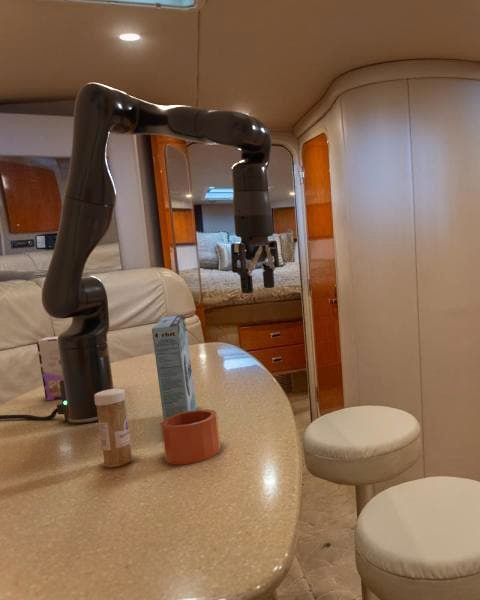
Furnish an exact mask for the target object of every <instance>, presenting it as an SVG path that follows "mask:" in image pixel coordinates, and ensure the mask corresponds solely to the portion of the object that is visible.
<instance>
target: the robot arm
mask: <svg viewBox="0 0 480 600" xmlns="http://www.w3.org/2000/svg"><path fill="white" fill-rule="evenodd" d="M110 134H113V135H116V136H133V135H134V136H137V135H141V136H142V135H152V136H153V135H155V136H165V137H168V138H169V137H170V138H174V139H178V140H182V141H187V142H193V143H199V144H204V145H219V146H224V147H229V148H233V149H238V150H240V151H241V152H240V158H239V162H236V163H234V164H233V165H232V167H231V180H232V210H233V220H234V221H233V223H234V235H235V237H237V238H240V242H231V243H230V257H231V272H232V273H233V274H237V275H238V276H239V279H240V289H241V293H242V294H253V292H254V283H253V274H252V273H253V270H254V268H255V266H257V265H260V267H261V269H262V279H263V280H262V281H263V288H265V289H273V288H275V274H274V272H275V271H276V268H278V267H280V260H279V259H280V258H279V249H278V242H277V240H269V237H273V235H274V227H273V226H274V225H273V224H274V223H273V213H272V212H273V211H272V201H271V197H270V188H269V187H270V186H269V175H268V170H269V165H270V159H271V153H272V143H273V142H272V135H271V131H270V128H269V126H268V125H267V124H266V122H265V121H263V120H262V119H260V118H257V117H255V116H252V115H250V114H246V113H245V112H240V111H235V110H233V111H232V110H222V109H221V110H219V109H217V110H213V109H210V108H206V107H198V106H191V105H182V104H181V105H179V104H175V105H160V104H155V103H151V102H148V101H145V100H142V99H139V98H136V97H134V96H131V95H129V94H128V93H126V92H125V91H121V90H119V89H116V88H113V87H110V86H108V85H104V84H101V83H98V82H88V83H86V84H85V85H83V86H82V87H81V89H79V91H78V92H77V96H76V98H75V103H74V109H73V126H72V142H71V151H70V152H71V154H70V160H69V166H68V174H67V178H66V179H67V180H66V185H65V189H64V194H63V198H62V205H61V211H60V219H59V223H58V224H59V225H58V229H57V235H56V237H55V238H56V239H55V244H54V248H53V252H52V256H51V259H50V262H49V265H48V268H47V271H46V275H45V278H44V281H43V285H42V288H41V289H42V290H41V303H42V307H43V309H44V311H45V313H46V314H47V315H49V316H50V317H51V318H54V319H58V320H59V319H70V318H71V319H72V320H71V323H70V325H69V327H68V328H66V329H65V330H64V331H63V332H62V333H60V334H59V335H57V336H58V348H59V355H60V361H61V368H62V375H63V380H61V381H60V390H61V397H62V398H61V403H58V404H56V408H54V409H53V410H52V412H51V413H50V414H49V415H47V416H37V415H33V414H32V415H31V414H0V420H12V419H15V420H17V419H24V420H25V419H26V420H32V421H49V420H53V418H55V417H56V415H63V417H64V418H63V419H64V422H68V423H70V424H87V423H88V424H89V423H93V422H98V421H99V420H98V412H97V407H96V405H95V399H94V395H95V394H96V393H98V392H101V391H104V390H109V389H115V388H114V381H113V373H112V364H111V357H110V351H109V343H108V334H109V330H110V314H109V301H108V293H107V290H106V288H105V285H104V284H103V281H101V280H100V279H99V278H98V277H97V276H94V275H91V274H84V269H85V266H86V263H87V261H88V259H89V257H90V256H91V254H92V253H93V252H94V250H95V249H96V248H97V246H98V245H99V244H100V243H101V241H102V240H103V239H104V238H105V236H106V235H107V233H108V232H109V230H110V228H111V226H112V223H113V219H114V215H115V208H116V204H117V192H116V187H115V184H114V181H113V178H112V176H111V173H110V170H109V166H108V162H107V145H108V139H109V135H110ZM238 264H239V265H238Z"/></svg>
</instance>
